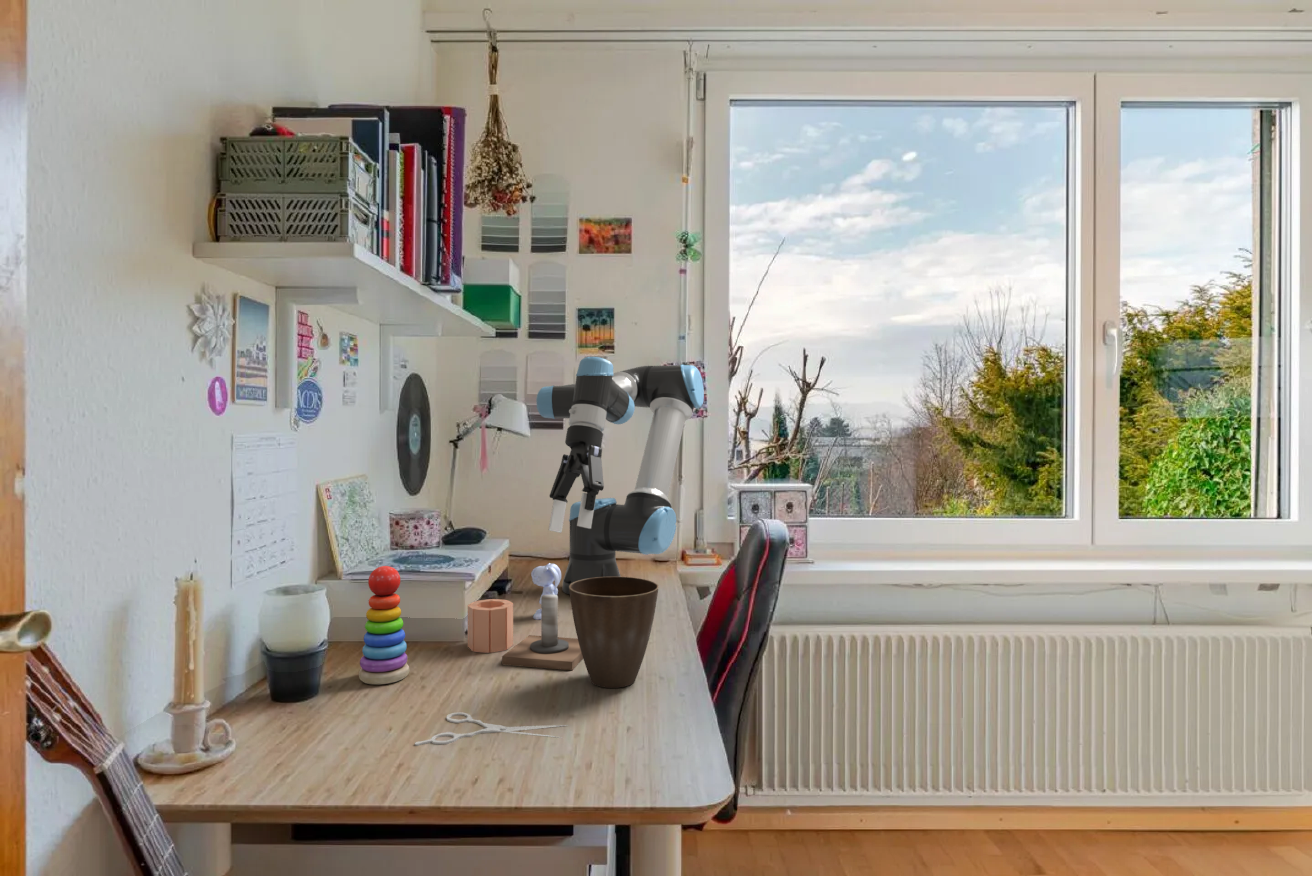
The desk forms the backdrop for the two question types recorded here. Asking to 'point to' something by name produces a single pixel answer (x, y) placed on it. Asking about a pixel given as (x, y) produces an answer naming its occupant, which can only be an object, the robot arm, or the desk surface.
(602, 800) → the desk surface
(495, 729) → the scissors
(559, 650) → the post stand
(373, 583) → the stacking toy
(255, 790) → the desk surface
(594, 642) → the plant pot
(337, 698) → the desk surface
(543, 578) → the toy figurine
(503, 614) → the ring
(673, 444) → the robot arm
